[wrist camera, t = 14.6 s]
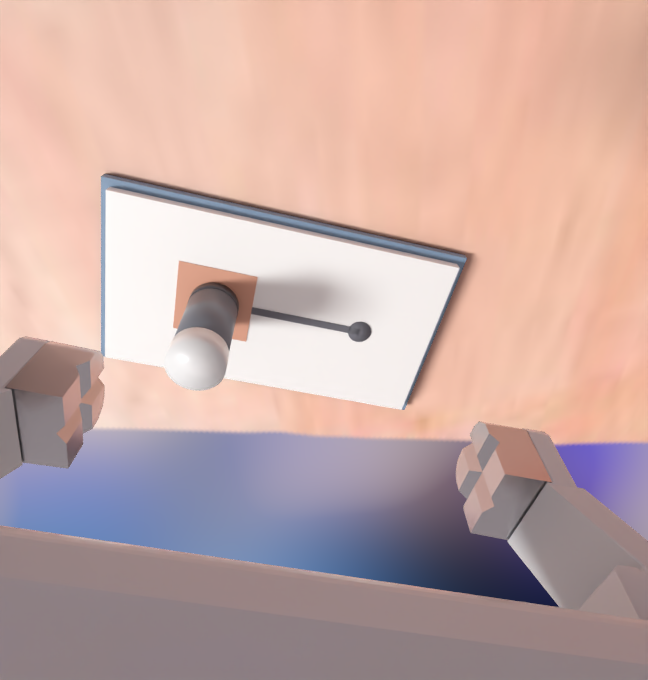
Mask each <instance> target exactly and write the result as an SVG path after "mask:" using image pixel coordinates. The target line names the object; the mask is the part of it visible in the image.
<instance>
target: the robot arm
mask: <svg viewBox="0 0 648 680" xmlns="http://www.w3.org/2000/svg"><path fill="white" fill-rule="evenodd" d="M103 369H104V361H103V354H102V353H101V352H100V351H96V350H91V349H87V348H82V347H77V346H72V345H67V344H62V343H57V342H53V341H51V342H50V341H47V340H42V339H36V338H31V337H22V338H19V339H18V340H17V341H16V342H15V343H14V344H12V345H11V346H10V347H9V348H8V349H7V350H6V351H5V352H4V353H3V354H2V355H1V356H0V479H1V478H2V477H4V476H5V475H7V474H9V473H10V472H12V471H13V470H15V469H16V468H18V467H20V466H21V465H22V462H23V463H31V464H38V465H46V466H53V467H61V468H69V466H70V465H71V463H72V461H73V460H74V458H75V457H76V455H77V453H78V452H79V450H80V448H81V447H82V445H83V433H85V432H87V431H89V430H91V429H93V427H94V425H95V424H96V422H97V420H98V418H99V415H100V412H101V409H102V406H103V401H104V384H103V383H102V382H101V380H100V379H99V378H98V376H99V375H100V373H101V372H102V370H103ZM470 436H471V439H472V442H473V443H472V444H470V445H468V446H467V447H465V448H463V449H462V451H461V454H460V456H459V458H458V461H457V467H456V482H457V486H458V490H459V491H460V492H461V493H462V494H463V495H464V496H465V498H466V499H467V501H466V503H465V505H464V506H463V508H464V512H465V515H466V519H467V522H468V526H469V530H470V533H475V534H479V535H485V536H490V537H496V538H500V539H506V540H508V543H509V544H510V545H511V547H512V548H513V549H514V550H515V552H516V553H517V554H518V555H519V557H520V558H521V559H522V560H523V562H524V563H525V564H526V566H527V567H528V568H529V569H530V571H531V572H532V573H533V574H534V575H535V577H536V578H537V579H538V581H539V582H540V583H541V584H542V586H543V587H544V588H545V589H546V591H547V592H548V593H549V594H550V596H551V597H552V598H553V599H554V601H555V602H556V603H557V604H558V606H559V607H553V606H546V605H538V604H532V603H525V602H518V601H511V600H505V599H498V598H491V597H484V596H477V595H470V594H464V593H457V592H450V591H444V590H436V589H430V588H423V587H416V586H410V585H403V584H396V583H389V582H382V581H376V580H369V579H362V578H355V577H349V576H341V575H335V574H328V573H321V572H314V571H308V570H301V569H294V568H287V567H280V566H274V565H267V564H260V563H252V562H246V561H239V560H233V559H226V558H219V557H212V556H205V555H198V554H191V553H184V552H178V551H171V550H164V549H156V548H150V547H143V546H137V545H130V544H123V543H116V542H109V541H103V540H96V539H89V538H82V537H75V536H69V535H62V534H54V533H47V532H41V531H35V530H27V529H21V528H13V527H7V526H0V680H648V541H647V540H646V539H645V538H643V537H642V536H641V535H640V534H639V533H637V532H636V531H635V530H634V529H632V528H631V527H630V526H629V525H627V524H626V523H625V522H624V521H623V520H621V519H620V518H619V517H618V516H617V515H615V514H614V513H613V512H612V511H610V510H609V509H608V508H607V507H605V506H604V505H603V504H602V503H601V502H599V501H598V500H597V499H596V498H594V497H593V496H592V495H591V494H590V493H588V492H587V491H586V490H585V489H582V488H577V487H576V485H575V483H574V481H573V479H572V477H571V475H570V473H569V472H568V470H567V468H566V466H565V464H564V462H563V460H562V459H561V457H560V455H559V453H558V451H557V449H556V447H555V446H554V444H553V442H552V440H551V438H550V436H549V435H548V434H546V433H545V432H542V431H536V430H529V429H519V428H513V427H508V426H502V425H496V424H491V423H485V422H480V421H479V422H478V423H477V424H476V425H475V426H474V428H473V430H472V432H471V433H470Z"/></svg>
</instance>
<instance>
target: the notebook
mask: <svg viewBox="0 0 648 680" xmlns="http://www.w3.org/2000/svg"><path fill="white" fill-rule="evenodd" d="M466 260H467V258H466V256H465V255H463V254H458V253H454V252H449V251H445V250H440V249H436V248H432V247H427V246H423V245H418V244H414V243H409V242H405V241H401V240H396V239H392V238H387V237H383V236H378V235H374V234H370V233H365V232H361V231H356V230H352V229H347V228H343V227H339V226H334V225H330V224H325V223H321V222H316V221H312V220H307V219H303V218H299V217H294V216H290V215H285V214H281V213H276V212H272V211H268V210H263V209H259V208H254V207H250V206H245V205H241V204H237V203H232V202H228V201H223V200H219V199H214V198H210V197H205V196H201V195H197V194H192V193H188V192H183V191H179V190H174V189H170V188H166V187H161V186H157V185H152V184H148V183H143V182H139V181H135V180H130V179H126V178H121V177H117V176H112V175H108V174H104V175H102V176H101V353H102V354H103V356H105V357H108V358H114V359H119V360H125V361H130V362H136V363H142V364H147V365H153V366H159V367H164V360H165V356H166V354H167V351H168V349H169V346H170V344H171V341H172V339H173V338H174V336H175V334H176V331H177V329H178V326H179V324H180V321H181V319H182V316H183V314H184V311H185V309H186V306H187V303H188V300H189V298H190V295H191V293H192V292H193V290H194V289H195V288H196V287H198V286H199V285H201V284H204V283H209V282H214V283H220V284H223V285H225V286H227V287H228V288H230V289H231V290H232V291H233V292H234V293H235V295H236V297H237V299H238V302H239V310H238V315H237V318H236V323H235V327H234V332H233V336H232V341H231V346H230V350H229V359H228V364H227V369H226V373H225V376H224V378H226V379H232V380H237V381H243V382H248V383H254V384H260V385H265V386H271V387H277V388H282V389H288V390H293V391H299V392H305V393H310V394H316V395H321V396H327V397H333V398H338V399H344V400H350V401H355V402H361V403H366V404H372V405H378V406H383V407H389V408H395V409H400V410H405V407H406V405H407V402H408V400H409V398H410V395H411V393H412V390H413V388H414V386H415V383H416V381H417V378H418V376H419V373H420V371H421V369H422V366H423V364H424V361H425V359H426V356H427V354H428V352H429V349H430V347H431V344H432V342H433V340H434V337H435V335H436V332H437V330H438V327H439V325H440V323H441V320H442V318H443V315H444V313H445V311H446V308H447V306H448V303H449V301H450V298H451V296H452V294H453V291H454V289H455V286H456V284H457V282H458V279H459V277H460V274H461V272H462V269H463V267H464V265H465V262H466ZM164 368H165V367H164Z"/></svg>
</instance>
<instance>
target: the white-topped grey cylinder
mask: <svg viewBox="0 0 648 680" xmlns="http://www.w3.org/2000/svg"><path fill="white" fill-rule="evenodd" d="M238 310H239V302H238V299H237V297H236V295H235V293H234V292H233V291H232V290H231V289H230V288H228V287H227V286H225V285H223V284H220V283H214V282H209V283H204V284H201V285H199V286H198V287H196V288H195V289H194V290H193V292H192V293H191V295H190V298H189V300H188V303H187V306H186V309H185V311H184V314H183V316H182V319H181V321H180V324H179V326H178V329H177V331H176V334H175V336H174V338H173V339H172V341H171V344H170V346H169V349H168V351H167V354H166V356H165V360H164V367H165V370H166V373H167V374H168V376H169V377H170V378H171V380H173V381H174V382H175V383H176V384H178V385H179V386H181V387H184V388H186V389H190V390H207V389H210V388H213V387H215V386H216V385H218V384H219V383H220V382H221V381H222V380H223V378H224V376H225V373H226V369H227V364H228V359H229V350H230V346H231V341H232V336H233V332H234V327H235V323H236V318H237V315H238Z"/></svg>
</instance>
